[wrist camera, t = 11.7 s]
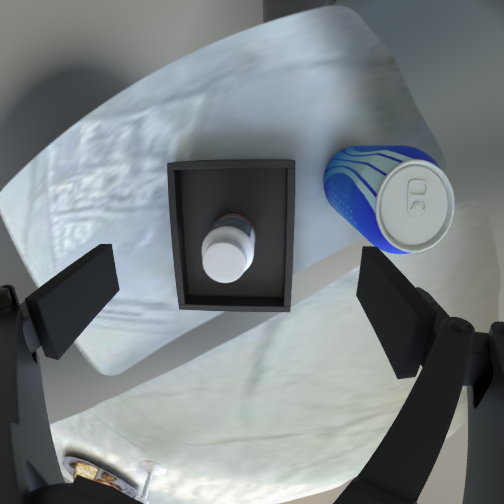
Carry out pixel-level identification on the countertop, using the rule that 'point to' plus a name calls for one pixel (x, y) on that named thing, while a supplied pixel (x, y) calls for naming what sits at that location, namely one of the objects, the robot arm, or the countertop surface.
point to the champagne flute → (149, 477)
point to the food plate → (96, 474)
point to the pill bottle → (228, 248)
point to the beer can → (391, 196)
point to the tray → (241, 203)
